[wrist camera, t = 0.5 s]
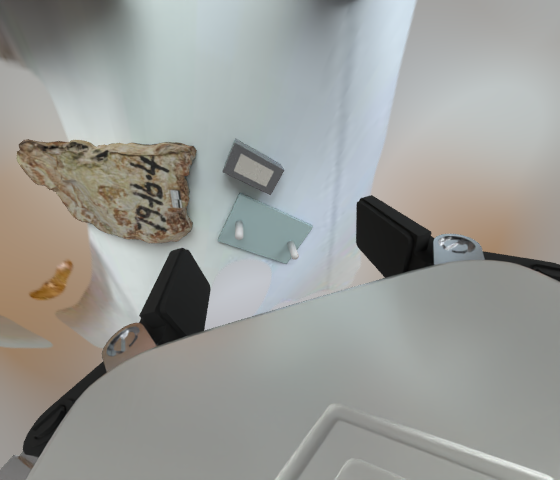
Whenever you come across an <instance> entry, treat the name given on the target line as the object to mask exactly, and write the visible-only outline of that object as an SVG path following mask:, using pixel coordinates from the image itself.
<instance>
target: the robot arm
mask: <svg viewBox="0 0 560 480" xmlns="http://www.w3.org/2000/svg"><path fill="white" fill-rule="evenodd" d="M356 243H357V246H358V248H359V249H360V250H361V251H362V252H363V253H364V254H365V256H366V257H367V258H368V259H369V260H370V261H371V262H372V264H373V265H374V266H375V267H376V268H377V269H378V270H379V271H380V272H381V274H383V276H384V277H385V278H383V279H380V280H376V281H373V282H369V283H366V284H363V285H359V286H355V287H352V288H348V289H345V290H341V291H338V292H334V293H331V294H327V295H324V296H321V297H317V298H314V299H310V300H307V301H303V302H300V303H296V304H293V305H289V306H286V307H283V308H279V309H276V310H272V311H269V312H265V313H262V314H259V315H255V316H252V317H249V318H245V319H242V320H239V321H235V322H232V323H228V324H225V325H222V326H218V327H215V328H212V329H209V330H205V331H204V327H205V321H206V315H207V308H208V302H209V296H210V285H209V283H208V281H207V279H206V278H205V276H204V274H203V273H202V271H201V269H200V268H199V266H198V265H197V263H196V261H195V260H194V258H193V256H192V255H191V253H190V251H189V250H185V249H184V248H180V249H177V250H173V251H171V252H170V254H169V256H168V258H167V260H166V262H165V264H164V266H163V268H162V270H161V272H160V274H159V276H158V279H157V281H156V283H155V285H154V287H153V289H152V291H151V293H150V295H149V297H148V299H147V301H146V303H145V305H144V307H143V309H142V311H141V313H140V315H139V316H140V317H141V320H140V322H139V323H133V324H129V325H127V326H125V327H123V328H122V329H120V330H119V331H118V332H116V333H115V334H114V335H113V336H112V337H111V338H110V339H109V340H108V342H107V343H106V345H105V346H104V348H103V351H102V359H103V362H102V363H101V364H100V365H99V366H97V367H96V368H95V369H94V370H93V371H92V372H90V373H89V374H88V375H87V376H86V377H85V378H83V379H82V380H81V381H80V382H79V383H77V384H76V385H75V386H74V387H73V388H72V389H70V390H69V391H68V392H67V393H66V394H65V395H63V396H62V397H61V398H60V399H59V400H58V401H57V402H55V403H54V404H53V405H52V406H51V407H50V408H48V409H47V410H46V411H45V412H44V413H43V414H42V415H41V416H40V417H39V418H38V420H37V421H36V422H35V424H34V425H33V427H32V428H31V429H30V431H29V433H28V434H27V437H26V439H25V441H24V445H23V452H22V453H21V454H20V456H16V455H13V456H12V458H11V459H10V460H9V461H8V462H7V463H6V464H5V465H4V466H3V467H2V468H1V470H0V480H560V265H559V264H556V263H551V262H545V261H540V260H534V259H528V258H520V257H515V256H508V255H502V254H496V253H490V252H483V251H482V248H481V246H480V244H479V243H478V242H476V241H475V240H473V239H471V238H469V237H466V236H463V235H458V234H442V235H439V236H437V237H436V238H433V237H432V236H431V231H429V230H427V229H426V228H424V227H422V226H421V225H419V224H418V223H416V222H414V221H413V220H411V219H409V218H408V217H406V216H404V215H403V214H401V213H400V212H398V211H397V210H395V209H393V208H392V207H390V206H388V205H387V204H385V203H384V202H382V201H380V200H379V199H377V198H375V197H374V196H372V195H371V196H367V197H364V198H361V199H360V200H359V202H357V223H356Z"/></svg>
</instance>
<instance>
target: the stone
mask: <svg viewBox="0 0 560 480" xmlns="http://www.w3.org/2000/svg"><path fill="white" fill-rule="evenodd" d="M19 148H20V150H19V151H17V161H18V163H19V165H20V166H21V167H22V169H23V170H24V171H25V173H26V174H27V175H28V176H29V177H30V178H31V180H32V181H33V182H34V183H36V184H38V185H44V186H46V187H47V188H48V189H49V190H53V191H55V192H56V193H57V194H58V196H59V197H60V198H61V200H62V202H63V203H64V204H65V206H66V207H67V209H68V210H69V212H70V213H71V215H73V216H74V217H75V218H76V219H77V220H79V221H82V222H89V223H91V224H93V225H94V226H95V227H97V228H98V229H99V230H101V231H103V232H105V233H108V234H113V235H117V236H119V237H122V238H124V239H137V240H139V239H141V240H143V241H145V242H148V243H165V242H170V241H174V242H177V241H179V240H180V239H181V238H182V237H184V236H186V235H187V233H189V232H190V231H191V229H192V225H193V223H192V221H191V220H190V218H189V216H188V214H187V208H186V207H187V205H188V202H189V188H188V184H187V180H186V179H185V176H188V175H189V167H190V165H192V160H193V159H195V155H196V151H197V150H196V149H195V148H194V146H187V145H185V144H182V143H171V142H164V143H159V144H153V145H144V144H137V143H129V144H122V143H116V144H109V145H98V147H96V146H94V145H93V144H91V143H89V142H86V141H82V140H71V141H70V142H63V141H56V142H38V141H33V140H29V139H28V140H24V141H22V142H21V143H20V144H19Z"/></svg>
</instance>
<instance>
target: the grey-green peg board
mask: <svg viewBox="0 0 560 480" xmlns="http://www.w3.org/2000/svg"><path fill="white" fill-rule="evenodd" d="M312 228H313V226H312V225H310V224H308V223H306V222H304V221H301V220H299V219H297V218H295V217H293V216H290V215H288V214H286V213H284V212H282V211H279V210H277V209H275V208H273V207H271V206H268V205H266V204H264V203H262V202H260V201H257V200H255V199H253V198H251V197H249V196H246V195H244V194H242V193H239V195H238V197H237V200H236V202H235V204H234V206H233V208H232V210H231V212H230V215H229V217H228V219H227V221H226V223H225V225H224V227H223V230H222V232H221V234H220V236H219V238H218V241H219V242H222V243H225V244H228V245H231V246H234V247H237V248H240V249H243V250H246V251H249V252H252V253H255V254H258V255H261V256H264V257H267V258H270V259H273V260H276V261H279V262H282V263H285V264H287V263H288V262H289V260H290V259H291V257H292V259H297V258H298V257H299V255H298V252H297V249H298V248H299V246H300V245H301V244H302V242H303V241H304V239H305V238H306V237H307V235H308V234H309V232H310V231H311V230H312Z"/></svg>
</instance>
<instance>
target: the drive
mask: <svg viewBox="0 0 560 480" xmlns="http://www.w3.org/2000/svg"><path fill="white" fill-rule="evenodd" d="M223 172H224V173H226V174H228V175H230V176H232V177H234V178H236V179H238V180H240V181H242V182H244V183H246V184H249V185H251V186H253V187H255V188H257V189H259V190H261V191H263V192H265V193H267V194H269V195H271V193H272V192H273V190H274V188H275V186H276V184H277V183H278V181H279V179H280V177H281V175H282V173H283V172H284V169H283V167H282V166H281V164H279V163H278V162H276V161H274V160H272V159H271V158H269V157H267V156H265V155H264V154H262V153H260V152H258V151H257V150H255V149H253V148H251V147H250V146H248V145H246V144H244V143H243V142H241V141H239V140H237V139H235V140H234V143H233V145H232V148H231V150H230V153H229V155H228V158H227V160H226V163H225V165H224V169H223Z"/></svg>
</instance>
